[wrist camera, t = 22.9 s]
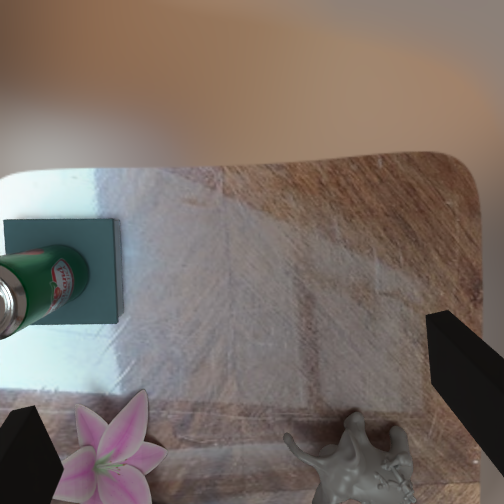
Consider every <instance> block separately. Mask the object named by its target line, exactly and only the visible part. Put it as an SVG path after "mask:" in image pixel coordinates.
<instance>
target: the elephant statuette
mask: <svg viewBox="0 0 504 504" xmlns="http://www.w3.org/2000/svg"><path fill="white" fill-rule="evenodd" d="M344 427H345V429H346V430H345V431H344V433H343V434H342V437H341V439H340V442H339V444H338V445H332V444H331V445H327V446H325V447H323V448H322V449H321V451H320V453H319V457H315V456H312V455H309V454H307V453H305V452H303V451H302V450H301V449H300V448H299V447H298V446H297V445H296V444H295V443H294V440H293V437H292V436H291V435H290V434H289V433H285V434H284V436H283V440H284V442H285V443H286V445H287V446H288V447H289V449H290V451H291V452H292V453H293V454H294V455H295V456H296V457H297V458H299V459H300V460H301V461H303V462H304V463H306V464H308V465H310V466H312V467H314V468H315V469H316V470H317V472H318V474H319V476H320V480H321V482H320V484H319V486H318V487H317V489H316V492H315V495H314V498H313V501H312V504H339V503H342V502H345V501H347V500H348V499H353V500H356V501H359V502H361V503H362V504H411V502H412V503H416V501H417V500H416V498H415V497H414V496H413V493H414V490H413V488H412V487H413V484H412V482H411V480H410V478H411V475H412V472H413V461H412V456H411V455H410V452H409V445H408V440H407V434H406V432H405V431H404V430H403V429H402V428H401V427H399V426H393V427H392V428H391V429H390V432H389V435H390V440H391V448H390V451H389V452H385V451H381V450H380V449H376V448H375V447H374V446H372V445H371V443H370V442H369V440H368V437H367V435H366V432H365V421H364V417H363V415H362V414H361V413H360V412H354V413H352V414H351V415H350V416H348V417H347V418H346V419H345V421H344Z"/></svg>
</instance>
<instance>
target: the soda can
mask: <svg viewBox="0 0 504 504" xmlns="http://www.w3.org/2000/svg"><path fill="white" fill-rule="evenodd" d="M87 282H88V268H87V265H86V263H85V261H84V259H83V258H82V256H81V255H80V254H79V253H78V252H77V251H75V250H74V249H72V248H70V247H68V246H65V245H49V246H44V247H40V248H35V249H30V250H25V251H21V252H16V253H11V254H6V255H2V256H0V340H2V339H5V338H7V337H9V336H11V335H13V334H15V333H16V332H18V331H20V330H22V329H23V328H25V327H27V326H29V325H30V324H32V323H34V322H36V321H37V320H39V319H41V318H43V317H45V316H46V315H48V314H50V313H52V312H53V311H55V310H57V309H59V308H60V307H62V306H64V305H66V304H67V303H69V302H71V301H73V300H75V299H76V298H77V297H79V296H80V295H81V294H82V292H83V291H84V290H85V288H86V286H87Z"/></svg>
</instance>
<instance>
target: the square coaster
mask: <svg viewBox="0 0 504 504" xmlns="http://www.w3.org/2000/svg"><path fill="white" fill-rule="evenodd" d="M3 222H4V236H5V250H6V254H11V253H16V252H21V251H25V250H30V249H35V248H40V247H44V246H49V245H65V246H68V247H70V248H72V249H74V250H75V251H77V252H78V253H79V254H80V255H81V256H82V258H83V259H84V261H85V263H86V265H87V268H88V282H87V286H86V288H85V290H84V291H83V292H82V294H81V295H80V296H79V297H77V298H76V299H75V300H73V301H71V302H69V303H67V304H66V305H64V306H62V307H60V308H59V309H57V310H55V311H53V312H52V313H50V314H48V315H46V316H45V317H43V318H41V319H39V320H37V321H36V322H34V323H32V324H30V325H66V324H117V323H118V322H119V320H118V318H119V317H120V316H121V315H122V314H123V313H124V312H123V288H122V264H121V240H120V220H114V219H7V220H3Z"/></svg>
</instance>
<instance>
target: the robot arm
mask: <svg viewBox="0 0 504 504" xmlns="http://www.w3.org/2000/svg"><path fill="white" fill-rule="evenodd" d="M426 327H427V339H428V350H429V362H430V374H431V384H432V385H433V387H434V388H435V389H436V390H437V392H438V393H439V394H440V396H441V397H442V398H443V399H444V401H445V402H446V403H447V405H448V406H449V407H450V408H451V410H452V411H453V412H454V414H455V415H456V416H457V417H458V419H459V420H460V421H461V423H462V424H463V425H464V426H465V428H466V429H467V430H468V432H469V433H470V434H471V435H472V437H473V438H474V439H475V441H476V442H477V443H478V444H479V446H480V447H481V448H482V450H483V451H484V452H485V453H486V455H487V456H488V457H489V459H490V460H491V461H492V462H493V464H494V465H495V466H496V468H497V469H498V470H499V472H500V473H501V474H502V475H503V477H504V359H503V358H502V357H501V356H500V355H499V354H498V353H497V352H496V351H494V350H493V349H492V348H491V347H490V346H489V345H487V344H486V343H485V342H484V341H483V340H482V339H481V338H480V337H478V336H477V335H476V334H475V333H474V332H473V331H472V330H470V329H469V328H468V327H467V326H466V325H465V324H464V323H462V322H461V321H460V320H459V319H458V318H457V317H456V316H454V315H453V314H452V313H451V312H450V311H449V310H446V311H441V312H437V313H433V314H428V315H426ZM63 471H64V467H63V465H62V463H61V461H60V458H59V456H58V454H57V452H56V450H55V448H54V446H53V443H52V441H51V439H50V437H49V435H48V433H47V431H46V428H45V426H44V424H43V422H42V420H41V418H40V416H39V414H38V411H37V409H36V407H35V405H34V406H30V407H25V408H21V409H17V410H12V411H11V412H10V414H9V415H8V417H7V418H6V420H5V421H4V423H3V424H2V426H1V427H0V504H50V503H51V500H52V498H53V495H54V493H55V491H56V488H57V486H58V483H59V481H60V479H61V476H62V474H63Z"/></svg>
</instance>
